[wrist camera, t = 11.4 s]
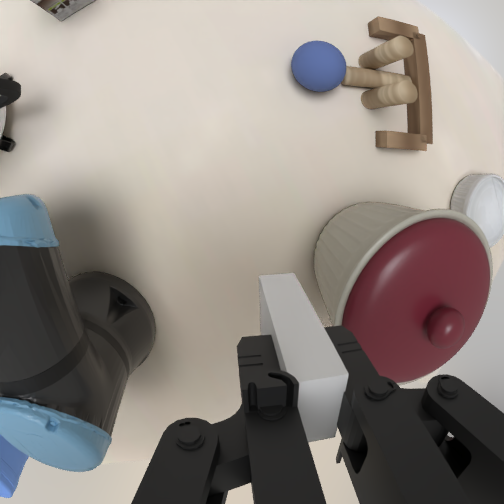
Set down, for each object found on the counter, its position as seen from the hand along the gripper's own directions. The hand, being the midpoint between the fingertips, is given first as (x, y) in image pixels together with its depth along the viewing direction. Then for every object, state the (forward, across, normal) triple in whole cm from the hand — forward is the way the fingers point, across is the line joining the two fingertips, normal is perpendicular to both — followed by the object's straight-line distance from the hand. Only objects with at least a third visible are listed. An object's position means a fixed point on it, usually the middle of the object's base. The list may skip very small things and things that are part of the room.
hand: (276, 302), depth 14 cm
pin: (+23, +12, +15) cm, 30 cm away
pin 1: (+24, +16, +18) cm, 34 cm away
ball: (+21, +9, +16) cm, 28 cm away
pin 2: (+24, +16, +12) cm, 32 cm away
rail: (+24, +20, +15) cm, 35 cm away
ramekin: (+25, +35, -1) cm, 43 cm away
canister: (+25, +15, -7) cm, 30 cm away
